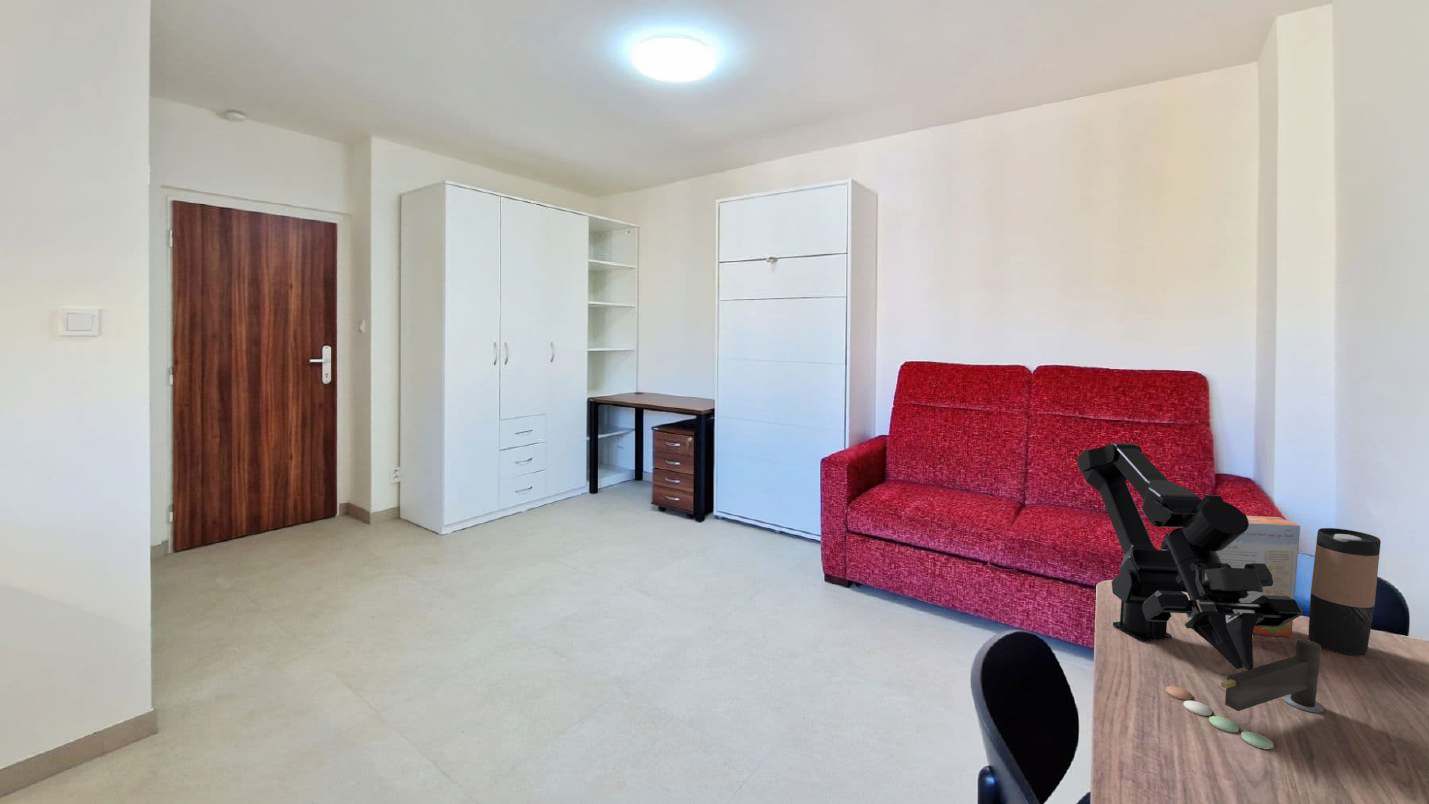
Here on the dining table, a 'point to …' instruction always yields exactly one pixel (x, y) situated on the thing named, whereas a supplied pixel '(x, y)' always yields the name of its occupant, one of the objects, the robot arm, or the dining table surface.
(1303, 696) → the hammer
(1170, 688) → the pebbles
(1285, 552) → the cracker box
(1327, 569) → the travel mug
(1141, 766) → the dining table surface
